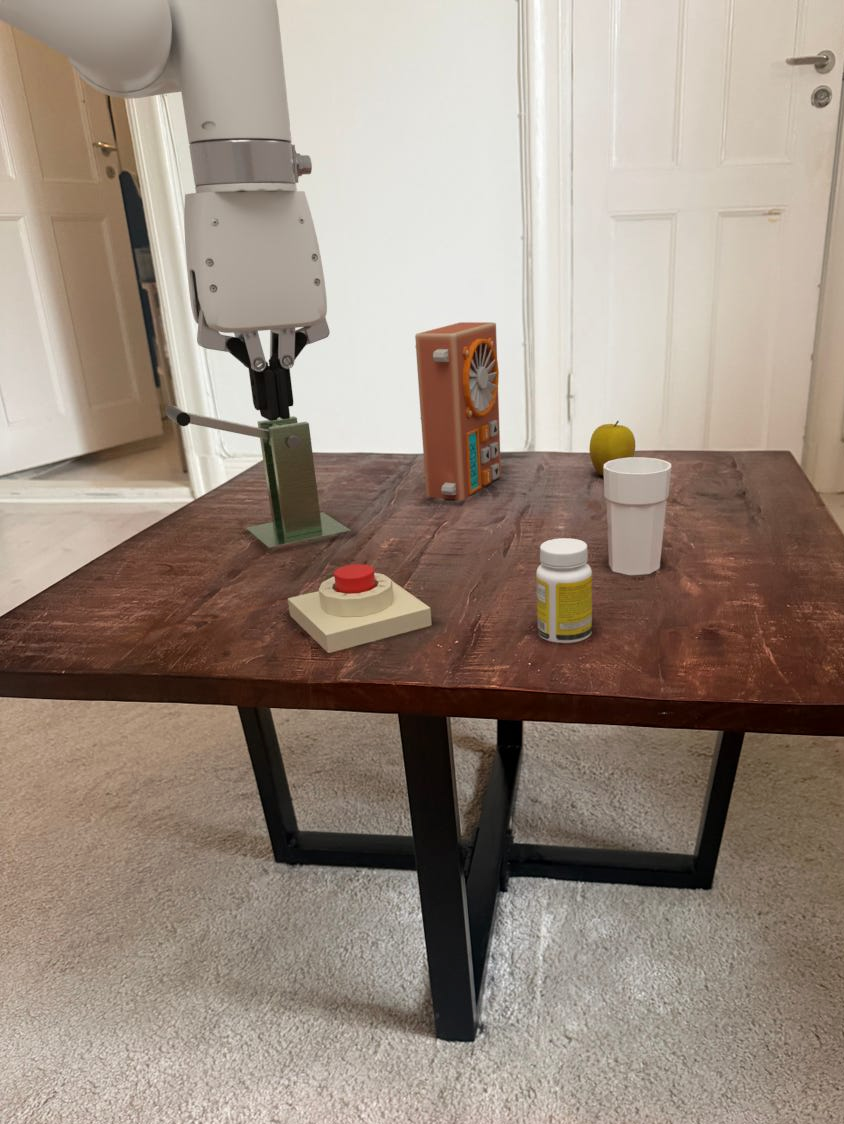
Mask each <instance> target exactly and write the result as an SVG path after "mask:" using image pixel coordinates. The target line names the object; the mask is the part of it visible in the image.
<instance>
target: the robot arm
mask: <svg viewBox="0 0 844 1124" xmlns="http://www.w3.org/2000/svg"><path fill="white" fill-rule="evenodd" d="M277 1H278V0H0V21H2V22H3V23H6V25H9V26H11V27H13V28H14V29H16V30H18V31H19V32H22V33H23V34H25V35H27V36H29V37H31V38H33V39H35V40H36V41H38V42H40V43H42V44H43V45H45V46H47V47H49V48H50V49H52V50H54V51H56V52H58V53H60V54H61V55H63V56H64V57H66V59H67V60H68V62H69V64H70V65H71V67H72V68H73V69H74V71H75V72H76V74H77V75H78V76H79V77H80V79H82V80H83V81H84V82H85V83H86V84H88V85H89V86H90V87H92V88H93V89H94V90H96V91H98V92H99V93H101V94H103V95H106V96H110V97H112V98H116V99H125V100H127V99H129V100H130V99H131V100H132V99H140V98H147V97H148V98H149V97H155V96H160V95H161V96H162V95H167V94H174V93H181V99H182V105H183V112H184V119H185V126H186V132H187V139H188V141H187V142H188V144H189V145H188V147H189V153H190V154H189V155H190V161H191V168H192V174H193V183H194V186H195V187H194V189H195V192H191V193H185V194H184V208H183V209H184V210H183V211H184V214H183V215H184V216H183V217H184V218H183V220H184V224H183V225H184V244H185V245H184V248H185V260H186V268H187V269H186V270H187V271H186V273H187V281H188V282H187V283H188V292H189V301H190V307H191V308H190V309H191V313H192V316H193V320H194V322H195V323H196V324H197V333H196V343H197V345H198V346H199V347H201V348H204V349H206V350H213V351H218V352H219V351H220V352H225V353H226V352H227V353H229V354H230V355H232V356H233V357H234V358H235V359H236V360H237V361H239V362H240V363H241V364H242V365H243V366H244V368H247V369H248V374H249V382H250V390H251V397H252V403H253V407H254V409H255V411H259V413H260V416H261V417H262V418H264V419H266V420H270V421H274V420H277V419H278V418H281V419H289V418H290V417H291V413H290V407H294V395H293V386H292V385H293V384H292V378H291V377H292V376H291V368H293V367H294V365H295V361H296V359H297V357H298V356H299V355H300V354H301V352H302V351H303V350H304V348H305V347H306V346H307V345H310V344H314V343H317V342H319V341H321V340H325V339H326V338H328V337H329V336H330V333H331V332H330V328H329V324H328V321H327V318H326V317H327V314H328V313H327V312H328V299H327V290H326V289H327V288H326V281H325V274H324V267H323V261H322V256H321V251H320V246H319V240H318V237H317V232H316V227H315V224H314V219H313V215H312V213H311V208H310V204H309V202H308V199H307V195H306V192H305V191H304V190H298V189H297V184H298V183H299V178H300V177H302V176H303V175H311V174H312V170H313V163H312V159H311V156H310V155H308V154H305V155H304V154H302V155H301V153H298V152H297V151H296V145H295V144H293V143H292V141H293V140H292V133H291V123H290V113H289V112H290V111H289V103H288V102H289V101H288V93H287V82H286V75H285V73H286V72H285V65H284V64H285V63H284V55H283V47H282V46H283V45H282V36H281V35H282V34H281V26H280V17H279V16H280V15H279V9H278V2H277ZM296 328H298V329H296ZM261 331H262V332H263V331H270V332H269V360H268V361H266V356H265V353H264V349H263V346H262V342H261V338H260V335H259V332H261ZM222 333H224V334H222ZM232 333H233V334H234V336H232V335H226V334H232Z"/></svg>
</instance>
